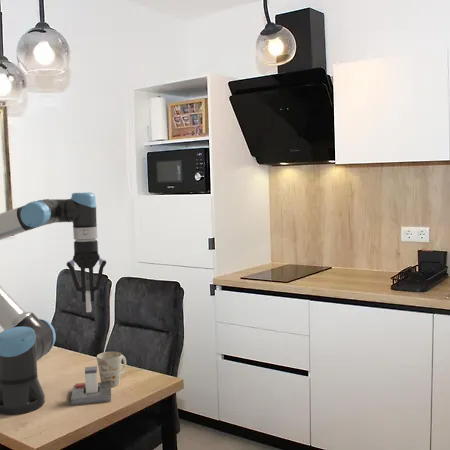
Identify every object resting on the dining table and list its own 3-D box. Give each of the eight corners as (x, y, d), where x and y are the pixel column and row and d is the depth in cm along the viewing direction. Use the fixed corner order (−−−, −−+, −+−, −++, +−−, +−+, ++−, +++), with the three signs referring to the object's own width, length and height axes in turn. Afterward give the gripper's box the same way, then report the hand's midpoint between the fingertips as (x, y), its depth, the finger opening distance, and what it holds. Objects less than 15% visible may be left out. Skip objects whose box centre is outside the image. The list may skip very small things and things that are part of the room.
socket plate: (71, 404, 180) (71, 396, 180) (73, 391, 192) (73, 383, 191) (110, 401, 182) (110, 393, 182) (110, 387, 194) (110, 380, 194)
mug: (92, 386, 196) (91, 357, 195) (116, 374, 207) (115, 346, 206) (112, 389, 192) (111, 360, 191) (135, 377, 203) (134, 349, 202)
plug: (86, 398, 184) (84, 370, 184) (86, 394, 188) (85, 367, 187) (97, 397, 185) (96, 369, 184) (97, 393, 189) (96, 366, 188)
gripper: (64, 242, 183) (67, 315, 186) (106, 240, 186) (109, 312, 188) (65, 239, 191) (69, 310, 193) (106, 237, 193) (109, 307, 195)
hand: (88, 311), depth 190 cm, fingers closed
